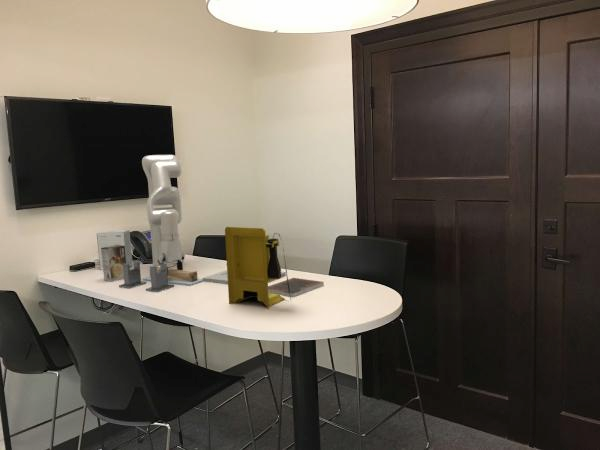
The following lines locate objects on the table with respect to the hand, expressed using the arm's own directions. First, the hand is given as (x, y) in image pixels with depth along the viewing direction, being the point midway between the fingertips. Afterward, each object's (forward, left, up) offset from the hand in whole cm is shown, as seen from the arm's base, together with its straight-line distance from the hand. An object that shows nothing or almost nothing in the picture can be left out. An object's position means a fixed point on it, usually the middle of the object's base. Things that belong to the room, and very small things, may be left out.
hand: (172, 273), depth 235 cm
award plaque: (-16, +30, -4) cm, 34 cm away
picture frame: (-8, +61, -4) cm, 62 cm away
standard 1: (+14, -11, -3) cm, 18 cm away
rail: (0, 0, -3) cm, 3 cm away
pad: (0, 0, -3) cm, 3 cm away
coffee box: (+8, -30, -4) cm, 31 cm away
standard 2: (+14, +6, -3) cm, 16 cm away
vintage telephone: (+15, +60, -4) cm, 62 cm away
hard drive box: (-11, -52, -4) cm, 53 cm away
